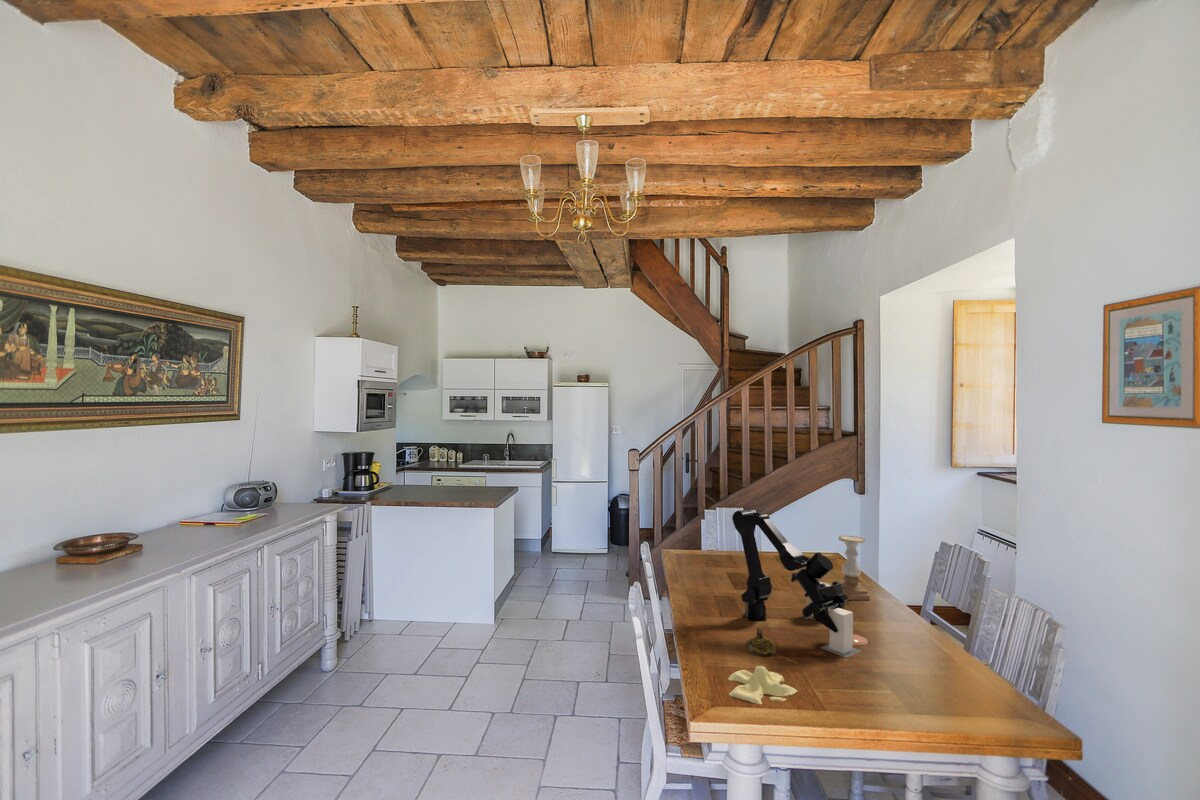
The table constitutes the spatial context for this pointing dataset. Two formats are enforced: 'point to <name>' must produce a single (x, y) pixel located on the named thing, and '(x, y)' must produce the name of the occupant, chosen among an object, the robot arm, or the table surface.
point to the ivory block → (842, 630)
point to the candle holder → (852, 570)
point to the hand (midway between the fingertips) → (842, 629)
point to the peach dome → (859, 640)
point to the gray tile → (841, 653)
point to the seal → (761, 645)
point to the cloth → (759, 685)
